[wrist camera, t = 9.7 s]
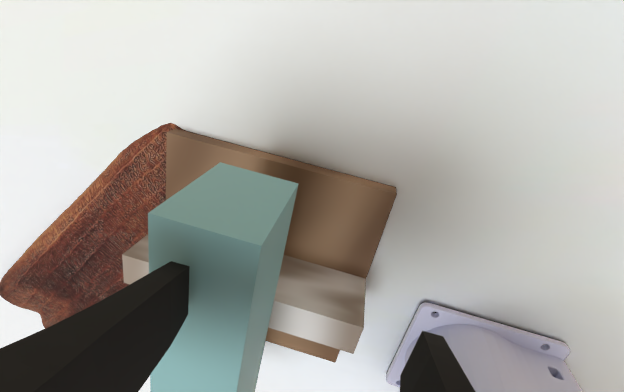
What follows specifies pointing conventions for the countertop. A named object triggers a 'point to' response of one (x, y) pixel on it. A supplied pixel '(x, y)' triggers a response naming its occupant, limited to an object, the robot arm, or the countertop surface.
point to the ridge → (298, 241)
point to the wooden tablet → (92, 236)
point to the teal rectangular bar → (222, 275)
